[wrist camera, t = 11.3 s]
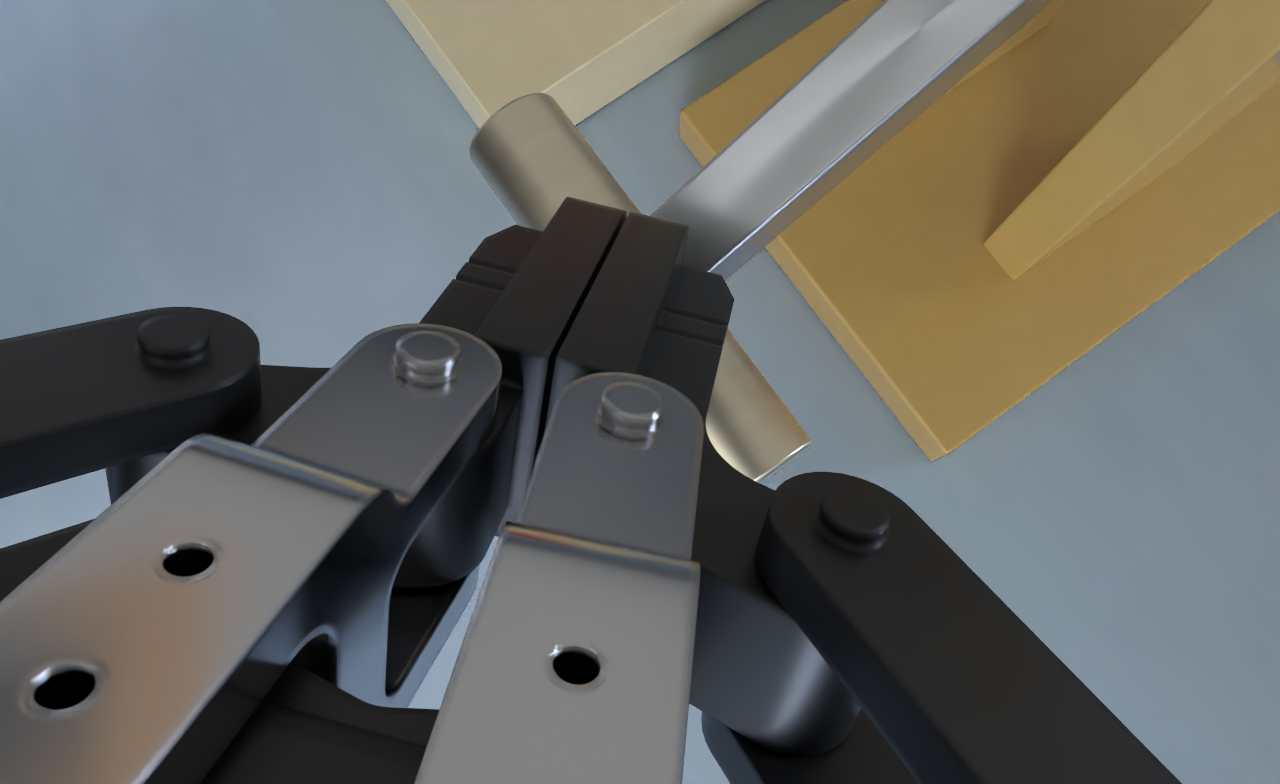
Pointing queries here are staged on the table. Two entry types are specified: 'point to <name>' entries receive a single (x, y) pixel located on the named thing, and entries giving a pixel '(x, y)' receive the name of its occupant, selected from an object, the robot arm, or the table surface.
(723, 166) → the tap lever
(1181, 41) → the bracket
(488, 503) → the robot arm
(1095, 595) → the table surface
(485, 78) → the button box
